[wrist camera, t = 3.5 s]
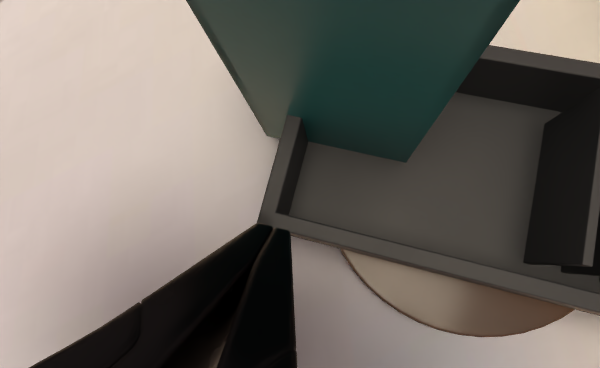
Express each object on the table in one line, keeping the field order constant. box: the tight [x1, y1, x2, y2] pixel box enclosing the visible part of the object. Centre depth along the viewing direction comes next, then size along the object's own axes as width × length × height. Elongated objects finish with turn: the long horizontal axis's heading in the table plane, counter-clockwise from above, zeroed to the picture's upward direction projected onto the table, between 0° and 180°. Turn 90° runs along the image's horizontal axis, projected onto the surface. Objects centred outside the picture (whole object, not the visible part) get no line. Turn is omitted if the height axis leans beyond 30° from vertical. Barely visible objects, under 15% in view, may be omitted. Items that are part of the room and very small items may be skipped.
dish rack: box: [186, 0, 600, 316], centre depth 11 cm, size 8×18×12 cm, turn 76°
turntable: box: [340, 248, 575, 337], centre depth 17 cm, size 13×13×1 cm
